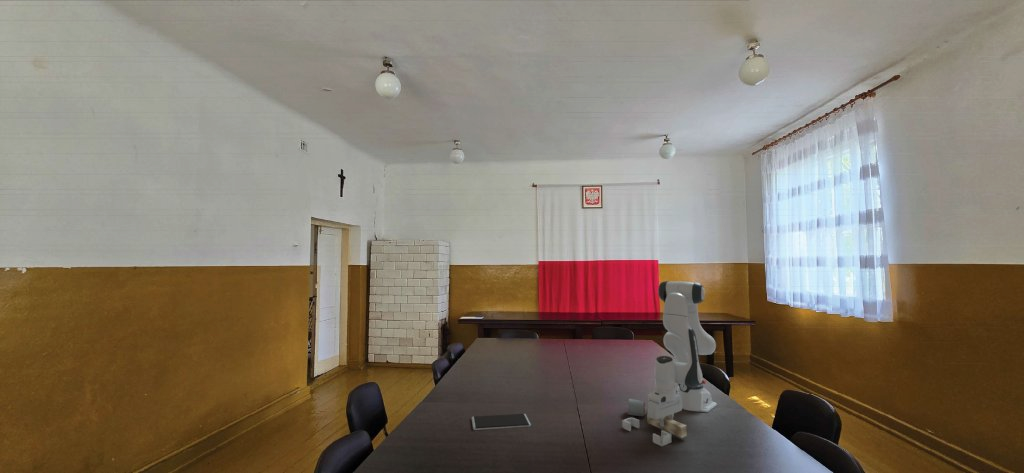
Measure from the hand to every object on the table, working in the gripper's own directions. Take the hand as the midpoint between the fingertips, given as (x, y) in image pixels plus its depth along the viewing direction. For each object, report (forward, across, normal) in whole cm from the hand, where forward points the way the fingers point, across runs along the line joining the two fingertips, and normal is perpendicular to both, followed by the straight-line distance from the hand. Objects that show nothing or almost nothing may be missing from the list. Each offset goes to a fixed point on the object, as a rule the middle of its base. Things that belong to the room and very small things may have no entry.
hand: (666, 424), depth 173 cm
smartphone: (+4, +58, -49) cm, 76 cm away
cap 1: (+3, +10, -12) cm, 16 cm away
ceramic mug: (+4, -5, -21) cm, 22 cm away
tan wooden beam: (+2, 0, 0) cm, 2 cm away
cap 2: (+3, +10, +6) cm, 12 cm away
